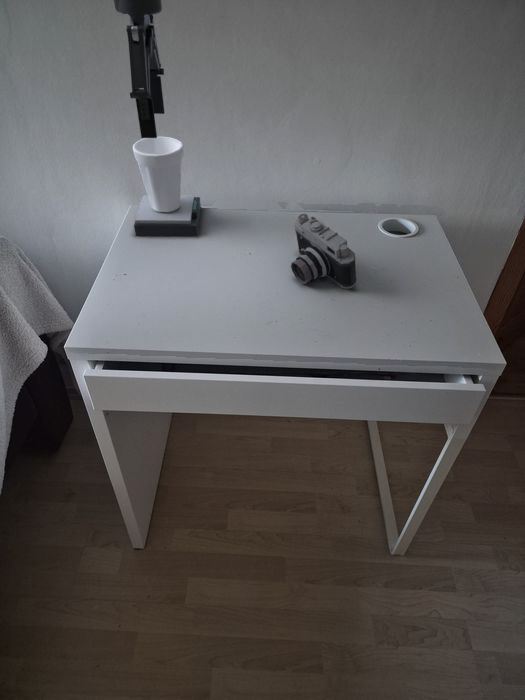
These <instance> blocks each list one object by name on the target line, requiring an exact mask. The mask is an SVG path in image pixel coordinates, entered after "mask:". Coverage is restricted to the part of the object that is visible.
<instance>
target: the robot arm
mask: <svg viewBox="0 0 525 700" xmlns="http://www.w3.org/2000/svg"><path fill="white" fill-rule="evenodd" d="M113 3H114V4H113V5H114V9H115V11H116V12H117V13H119V14H123V15H128V16H129V22H130V25H126V28H125V30H126V35H127V41H128V53H129V54H128V55H129V67H130V69H129V70H130V81H131V82H130V83H131V92H129V97H130V99H135V105H136V111H137V118H138V124H139V131H140V139H144V138H157V137H158V134H157V126H156V125H157V124H156V116H155V115H157V114H158V115H165V104H164V103H165V102H164V96H163V95H164V94H163V86H162V78H161V77H162V76H165V69H164V68H162V63H161V58H160V54H159V48H158V42H157V36H156V28H155V23H154V15H158V14H160V13H161V12H162V10H163V5H162V4H163V2H162V0H113Z"/></svg>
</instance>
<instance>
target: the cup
mask: <svg viewBox="0 0 525 700" xmlns="http://www.w3.org/2000/svg"><path fill="white" fill-rule="evenodd" d="M132 152H133V156H134V159H135V160H136V163H137V165H138V169H139V173H140V175H141V179H142V183H143V185H144V188H145V191H146V195H148V197H149V201H150V204H151V207H152V208H153V209H154V210H156V211H158V212H171V211H174V210H176V209H178V208H179V207H180V195H181V186H182V185H181V183H182V160H183V156H184V144H183V142H182V141H180V140H179V139H177V138H174V137H170V136H162V135H161V136H160V135H159V136H157V138H140V139H139V140H137V141H135V142H134V144H133V145H132Z"/></svg>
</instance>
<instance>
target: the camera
mask: <svg viewBox="0 0 525 700" xmlns="http://www.w3.org/2000/svg"><path fill="white" fill-rule="evenodd" d="M294 230H295V235H296V241H297V246H298V253H299V256H297V257H296V258H295V260H294V261H292V262H291V264H290V269H291V272H292V274H293V275H294V277H295V278H296V280H297V281H298V282H299V283H301V284H302V285H306V284H308V283H309V282H310V283H311V282H313V281H314V280H316V279H319V278H322V277H328V279H330V280H332V281H333V282H334V283H336V285H337V286H339V287H340V288H342V289H352V288H354V287H355V286H356V285H357V272H356V271H357V269H356V253H355V251H353V249H351V248H349V246H348V240H347V239H346V238H344V237H343V236H342V235H340V234H338V232H336V231H334V230H333V229H331V228H330V226H329V227H328V226H327V225H325V224H324V223H322V222H321V221H319V220H318V219H317V217H316V216H311V217H309V215H308V214H307V213H301V214H299V215H298V217H297V219H295V221H294Z"/></svg>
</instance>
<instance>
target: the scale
mask: <svg viewBox="0 0 525 700" xmlns="http://www.w3.org/2000/svg"><path fill="white" fill-rule="evenodd" d="M201 208H202V204H201V197H200V196H195V195H194V194H180V207H179V208H178V209H176V210H174V211H171V212H158V211H156V210H154V209H153V208H152V207H151V204H150V201H149V197H148V194H142V196H141V200H140V203H139V206H138V209H137V212H136V215H135V219H134V223H133V228H134V233H135V236H136V237H146V236H147V237H198V232H199V223H200V217H201Z"/></svg>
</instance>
